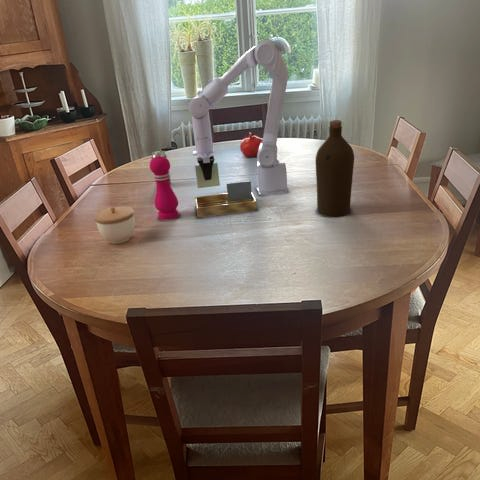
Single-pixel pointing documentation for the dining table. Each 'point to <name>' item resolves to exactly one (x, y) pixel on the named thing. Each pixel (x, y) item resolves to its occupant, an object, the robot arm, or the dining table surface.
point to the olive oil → (334, 173)
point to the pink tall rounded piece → (161, 155)
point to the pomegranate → (250, 146)
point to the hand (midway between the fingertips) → (208, 179)
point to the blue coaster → (239, 191)
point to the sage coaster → (207, 183)
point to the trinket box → (116, 224)
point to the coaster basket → (222, 205)
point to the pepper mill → (163, 188)
